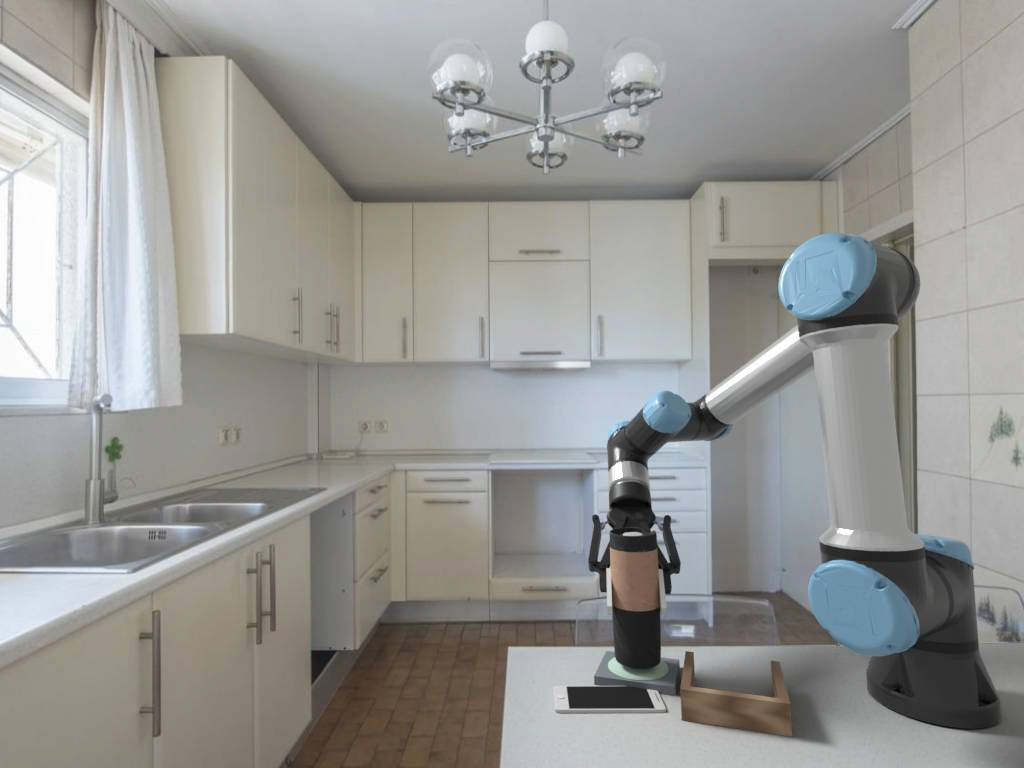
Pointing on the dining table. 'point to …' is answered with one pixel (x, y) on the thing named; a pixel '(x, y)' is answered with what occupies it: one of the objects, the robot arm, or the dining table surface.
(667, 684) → the dock pad
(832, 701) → the dining table surface
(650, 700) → the smartphone
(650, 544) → the travel mug
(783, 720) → the mug cradle
